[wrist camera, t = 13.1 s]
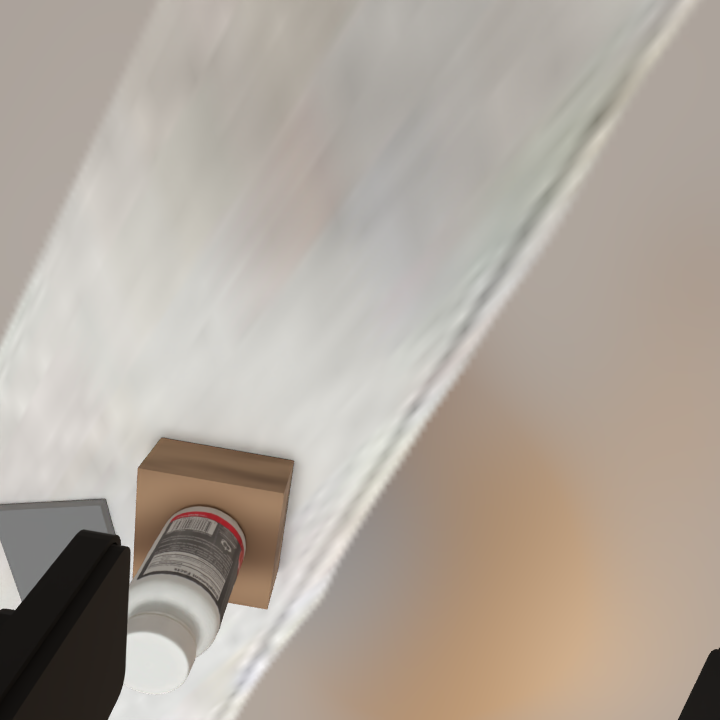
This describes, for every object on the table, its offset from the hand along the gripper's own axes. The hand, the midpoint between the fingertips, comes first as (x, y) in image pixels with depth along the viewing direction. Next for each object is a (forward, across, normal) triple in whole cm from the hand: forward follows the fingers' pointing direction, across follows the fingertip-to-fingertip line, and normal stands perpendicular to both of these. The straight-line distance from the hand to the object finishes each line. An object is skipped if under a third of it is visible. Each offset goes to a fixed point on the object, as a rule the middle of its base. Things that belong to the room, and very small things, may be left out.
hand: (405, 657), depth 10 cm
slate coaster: (+28, +20, +24) cm, 42 cm away
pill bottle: (+24, +9, +18) cm, 32 cm away
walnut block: (+28, +9, +18) cm, 35 cm away
